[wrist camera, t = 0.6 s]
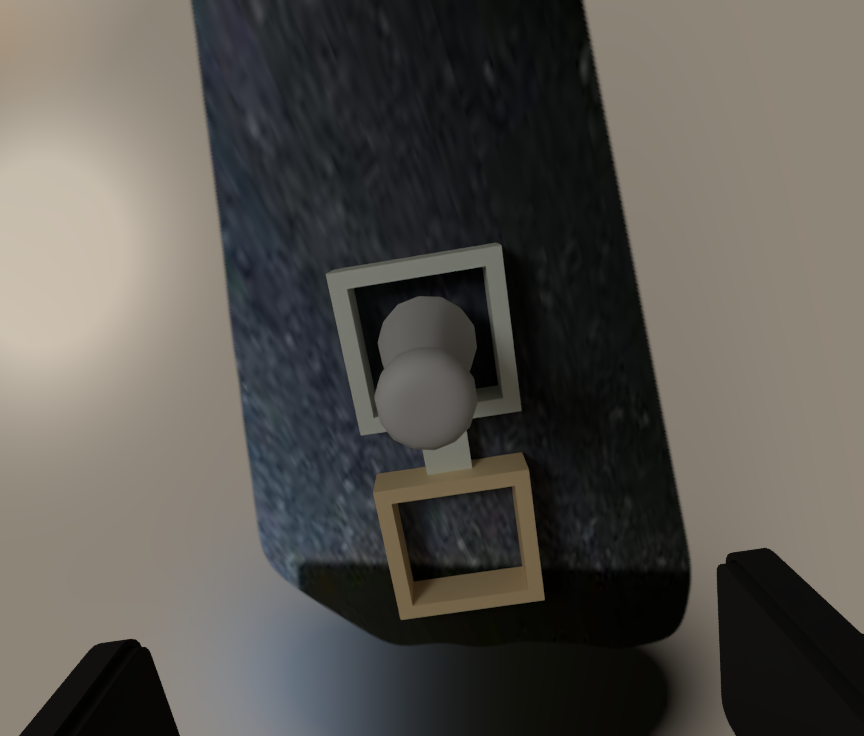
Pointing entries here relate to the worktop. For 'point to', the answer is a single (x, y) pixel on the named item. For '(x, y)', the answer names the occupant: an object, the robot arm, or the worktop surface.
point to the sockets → (450, 463)
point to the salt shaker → (426, 373)
